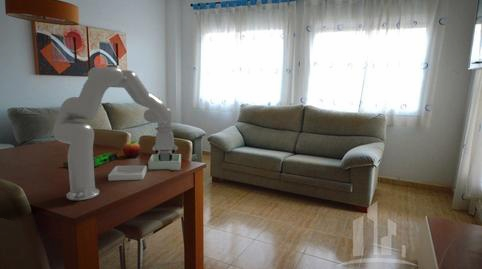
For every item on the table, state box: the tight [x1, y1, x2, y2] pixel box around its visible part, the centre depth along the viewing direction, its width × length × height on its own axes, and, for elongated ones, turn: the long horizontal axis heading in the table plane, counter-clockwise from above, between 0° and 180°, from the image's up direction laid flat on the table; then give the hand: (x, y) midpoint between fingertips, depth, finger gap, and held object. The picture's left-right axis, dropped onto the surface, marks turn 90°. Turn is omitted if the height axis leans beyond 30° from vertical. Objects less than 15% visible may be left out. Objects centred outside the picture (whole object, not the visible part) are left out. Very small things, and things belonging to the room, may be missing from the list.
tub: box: [107, 164, 148, 181], centre depth 159 cm, size 16×16×4 cm
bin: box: [147, 153, 182, 171], centre depth 179 cm, size 17×17×5 cm
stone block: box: [160, 150, 170, 161], centre depth 178 cm, size 5×5×5 cm
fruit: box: [122, 140, 142, 158], centre depth 199 cm, size 11×11×10 cm
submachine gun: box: [62, 152, 119, 168], centre depth 183 cm, size 5×29×25 cm
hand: (165, 160), depth 179 cm, fingers closed on stone block, 4 cm apart
